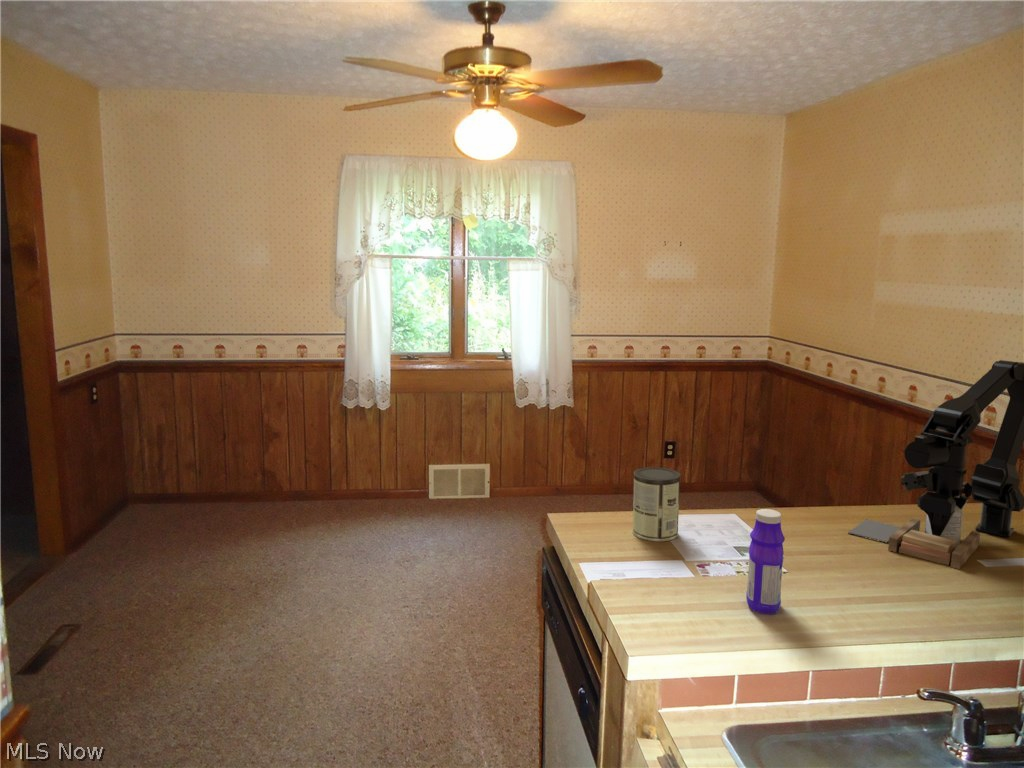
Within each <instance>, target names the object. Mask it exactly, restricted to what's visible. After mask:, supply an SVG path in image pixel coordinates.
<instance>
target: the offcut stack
mask: <svg viewBox="0 0 1024 768" xmlns="http://www.w3.org/2000/svg"><path fill="white" fill-rule="evenodd" d="M955 546H956V541H955V540H951V539H947V538H943V537H939V536H935V535H931V534H927V533H925V532H923V531H920V530H919V531H915V530H910V531H909V532H907V533H906V534H905V535H903V539H902V542H901V546H900V547H899V550H898V553H900V554H902V553H903V554H902V555H907V556H911V557H915V558H919V559H922V560H927V561H930V562H933V563H938V564H941V565H945V566H951V558H952V552H953V551H954V550H955Z"/></svg>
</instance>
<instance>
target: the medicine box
mask: <svg viewBox="0 0 1024 768" xmlns="http://www.w3.org/2000/svg"><path fill="white" fill-rule="evenodd" d="M954 511H955V512H954V514H953V516H952V517H951V519H950V521H949V522H948V524H947V526H946V527H945V529H944V531H943V533H942V534H941V536H940V537H943V538H947V539H951V540H955V541H956V546H955V549H956V548H957V547H958V546H959V545H960V544H961V540H962V539H961V537H962V526H963V515H964V511H963V509H962V510H961V509H960V508H959V507H957V506H955V509H954ZM924 526H925V527H924V533H927V534H931V535H932V531H931V526H930V521H929V517H928V515H927V514H926V515H925V525H924Z"/></svg>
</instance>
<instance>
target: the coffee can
mask: <svg viewBox="0 0 1024 768" xmlns="http://www.w3.org/2000/svg"><path fill="white" fill-rule="evenodd" d="M681 477H682V476H681V473H680V472H678V471H677V470H674V469H670V468H665V467H654V466H652V467H651V466H650V467H649V466H648V467H643V468H642V467H641V468H638V469H635V470H634V471H633V504H632V508H633V509H632V510H633V512H632V533H633V535H634V536H635V537H637V538H639V539H641V540H644V541H650V542H663V543H664V542H668V541H669V542H670V541H673V540H675V539H677V538H678V536H679V511H680V488H681V487H680V486H681V485H680V483H681V482H680V481H681Z"/></svg>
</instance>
